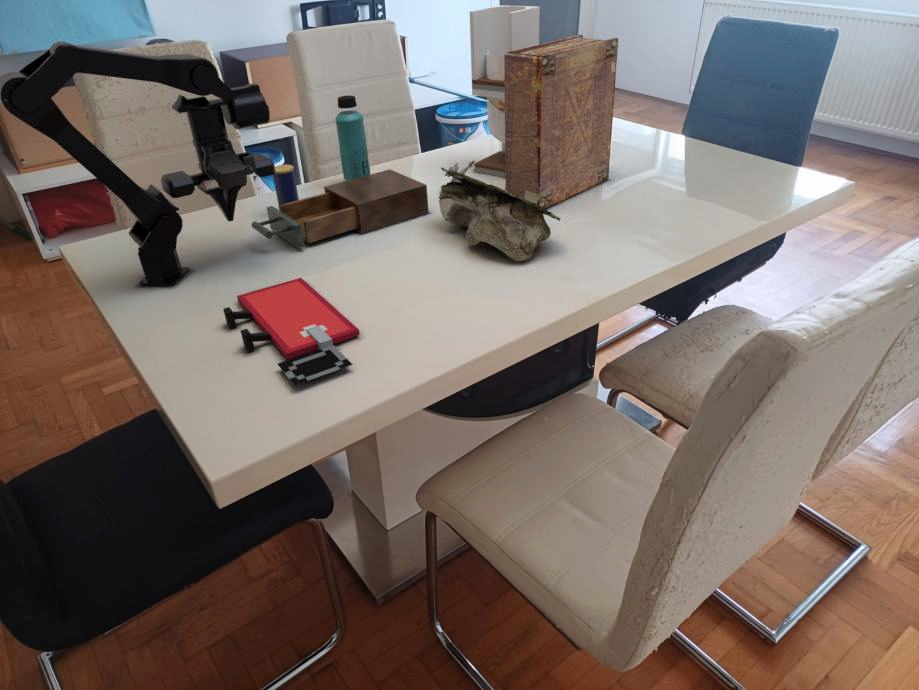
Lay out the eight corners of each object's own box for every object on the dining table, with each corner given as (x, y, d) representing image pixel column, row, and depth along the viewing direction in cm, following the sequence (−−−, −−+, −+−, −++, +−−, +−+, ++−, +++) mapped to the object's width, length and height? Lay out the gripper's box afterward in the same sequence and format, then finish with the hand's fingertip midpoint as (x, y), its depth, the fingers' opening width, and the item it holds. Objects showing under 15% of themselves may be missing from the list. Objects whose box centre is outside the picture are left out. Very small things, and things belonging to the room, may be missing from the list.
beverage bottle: (367, 189, 156) (356, 99, 145) (339, 188, 157) (327, 99, 147) (375, 180, 161) (365, 93, 151) (349, 179, 163) (337, 93, 152)
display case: (500, 158, 171) (498, 5, 152) (536, 165, 166) (539, 6, 147) (474, 171, 163) (469, 11, 145) (511, 178, 158) (511, 13, 139)
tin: (297, 217, 143) (289, 171, 137) (276, 217, 143) (267, 171, 138) (304, 209, 147) (296, 164, 141) (284, 209, 147) (275, 164, 142)
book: (575, 172, 160) (582, 34, 144) (608, 180, 154) (619, 37, 138) (505, 203, 145) (503, 52, 129) (539, 212, 139) (541, 56, 123)
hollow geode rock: (449, 239, 141) (400, 201, 131) (483, 188, 141) (437, 146, 130) (534, 284, 120) (484, 242, 110) (574, 224, 120) (528, 177, 110)
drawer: (275, 255, 125) (270, 232, 122) (248, 235, 134) (243, 213, 131) (368, 226, 135) (366, 204, 132) (337, 209, 144) (334, 188, 141)
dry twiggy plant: (449, 204, 146) (429, 179, 151) (462, 216, 151) (443, 192, 156) (483, 171, 144) (462, 147, 148) (495, 184, 149) (475, 161, 153)
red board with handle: (282, 396, 88) (383, 359, 95) (278, 378, 87) (381, 342, 94) (215, 309, 110) (302, 285, 117) (211, 294, 108) (299, 270, 115)
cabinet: (361, 234, 134) (357, 204, 130) (328, 215, 143) (323, 186, 140) (428, 213, 142) (426, 184, 138) (392, 196, 151) (390, 169, 148)
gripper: (169, 156, 105) (194, 248, 114) (280, 132, 114) (296, 219, 123) (148, 142, 113) (173, 229, 121) (254, 121, 122) (271, 203, 130)
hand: (230, 220), depth 124 cm, fingers closed
